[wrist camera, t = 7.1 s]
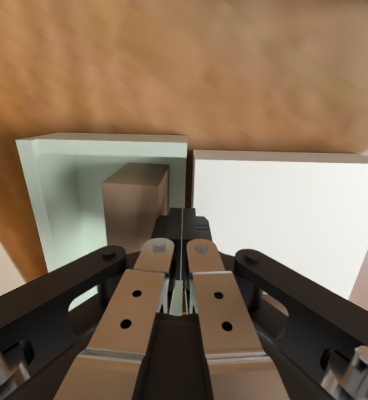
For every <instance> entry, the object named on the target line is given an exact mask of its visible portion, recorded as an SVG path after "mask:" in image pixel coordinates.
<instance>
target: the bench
mask: <svg viewBox="0 0 368 400" xmlns="http://www.w3.org/2000/svg"><path fill="white" fill-rule="evenodd" d="M191 208H195V211H196V216H204V217H205V218H206V219H207V220H208V221H209V226H210V231H211V236H212V241H213V243H215V245H216V246H217V249H218V251H220V252H222V253H224V254H227V255H231V256H235V254H236V252H237V251H239V250H241V249H254V250H257V251H259V252H262V253H263V254H265V255H267V256H269V257H271V258H272V259H274V260H276V261H278V262H280V263H281V264H283V265H285V266H287V267H289V268H290V269H292V270H294V271H296V272H298V273H299V274H301V275H303V276H305V277H307V278H309V279H310V280H312V281H314V282H316V283H318V284H319V285H321V286H323V287H325V288H327V289H328V290H330V291H332V292H334V293H336V294H337V295H339V296H341V297H343V298H345V299H346V300H348V298H349V296H350V293H351V291H352V288H353V286H354V283H355V281H356V278H357V275H358V273H359V270H360V268H361V265H362V262H363V260H364V257H365V254H366V252H367V250H368V156H364V155H360V154H344V153H304V152H264V151H224V150H193V170H192V196H191ZM263 294H267V293H266V292H264V291H263Z"/></svg>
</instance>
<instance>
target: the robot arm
mask: <svg viewBox="0 0 368 400" xmlns="http://www.w3.org/2000/svg"><path fill="white" fill-rule="evenodd" d="M181 238H182V266H181ZM180 266H181V280H184V281H185V300H186V311H187V314H186V315H181V316H174V315H170V314H171V308H172V303H173V297H174V288H175V283H176V280H180ZM95 286H97V292H98V293H97V294H95V295H94V296H92V297H91V298H89V299H87V300H86V301H84V302H83V303H81V304H80V305H78V306H76V307H75V308H73V309H72V310H70V311H68V310H69V306H70V304H71V303H72V301H73V300H74V299H76V298H77V297H79V296H80V295H82V294H84V293H85V292H87V291H88V290H90V289H92V288H93V287H95ZM263 291H264V292H266V293H267V294H268V295H270V296H271V297H273V298H274V299H276V300H277V301H278V302H280V303H281V304H282V305H284V307H285V308H286V309H287V311H288V315H289V317H288V316H287V315H285V314H284V313H283V312H281V311H280V310H278V309H277V308H276V307H274V306H273V305H271V304H270V303H269V302H267V301H266V300H265V299H263V298H262V295H263ZM0 400H368V311H366V310H365V309H363V308H361V307H359V306H357V305H355V304H354V303H352V302H350V301H348V300H346V299H345V298H343V297H341V296H339V295H337V294H336V293H334V292H332V291H330V290H328V289H327V288H325V287H323V286H321V285H319V284H318V283H316V282H314V281H312V280H310V279H309V278H307V277H305V276H303V275H301V274H299V273H298V272H296V271H294V270H292V269H290V268H289V267H287V266H285V265H283V264H281V263H280V262H278V261H276V260H274V259H272V258H271V257H269V256H267V255H265V254H263V253H262V252H259V251H257V250H254V249H241V250H239V251H237V252H236V254H235V256H231V255H227V254H224V253H222V252H220V251H218V249H217V246H216V245H215V243H213V241H212V236H211V231H210V226H209V221H208V220H207V219H206V218H205V217H204V216H196V211H195V208H183V226H182V208H170V210H169V215H161V216H159V218H157V219H156V221H155V225H154V229H153V232H152V236H151V239H150V240H149V241H147V242H146V243H145V244H144V246H143V248H142V250H141V251H138V252H134V253H129V254H126V251H125V249H124V248H123V247H121V246H117V245H109V246H104V247H101V248H99V249H97V250H95V251H93V252H91V253H89V254H87V255H85V256H82V257H80V258H78V259H76V260H74V261H72V262H70V263H68V264H66V265H64V266H62V267H60V268H58V269H56V270H53V271H51V272H49V273H47V274H45V275H43V276H41V277H39V278H37V279H35V280H33V281H31V282H29V283H26V284H24V285H22V286H20V287H18V288H16V289H14V290H12V291H10V292H8V293H6V294H4V295H2V296H0Z"/></svg>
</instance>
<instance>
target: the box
mask: <svg viewBox="0 0 368 400" xmlns="http://www.w3.org/2000/svg"><path fill="white" fill-rule="evenodd" d="M16 144H17V149H18V153H19V157H20V161H21V165H22V169H23V173H24V177H25V181H26V185H27V189H28V193H29V197H30V201H31V205H32V209H33V213H34V217H35V221H36V225H37V229H38V233H39V237H40V241H41V245H42V249H43V253H44V257H45V261H46V265H47V269H48V273H49V272H51V271H53V270H56V269H58V268H60V267H62V266H64V265H66V264H68V263H70V262H72V261H74V260H76V259H78V258H80V257H82V256H85V255H87V254H89V253H91V252H93V251H95V250H97V249H99V248H101V247H104V246H107V239H106V228H105V217H104V206H103V196H102V185H101V182H103V181H104V180H106V179H107V178H108V177H110V176H111V175H112V174H114V173H115V172H116V171H118V170H119V169H120V168H122V167H123V166H124V165H126V164H127V163H128V162H132V163H149V164H166V165H170V176H169V210H170V208H182V226H183V208H185V184H186V158H187V135H153V134H113V133H73V132H58V133H52V134H47V135H41V136H35V137H29V138H23V139H17V140H16ZM181 266H182V238H181ZM181 266H180V280H176V283H175V288H174V297H173V303H172V308H171V314H170V315H174V316H181V315H182V294H183V280H181ZM97 293H98V292H97V286H95V287H93V288H92V289H90V290H88V291H87V292H85V293H84V294H82V295H80V296H79V297H77V298H76V299H74V300H73V301H72V303H71V304H70V306H69V310H68V311H70V310H72V309H73V308H75V307H76V306H78V305H80V304H81V303H83V302H84V301H86V300H87V299H89V298H91V297H92V296H94V295H95V294H97Z"/></svg>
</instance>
